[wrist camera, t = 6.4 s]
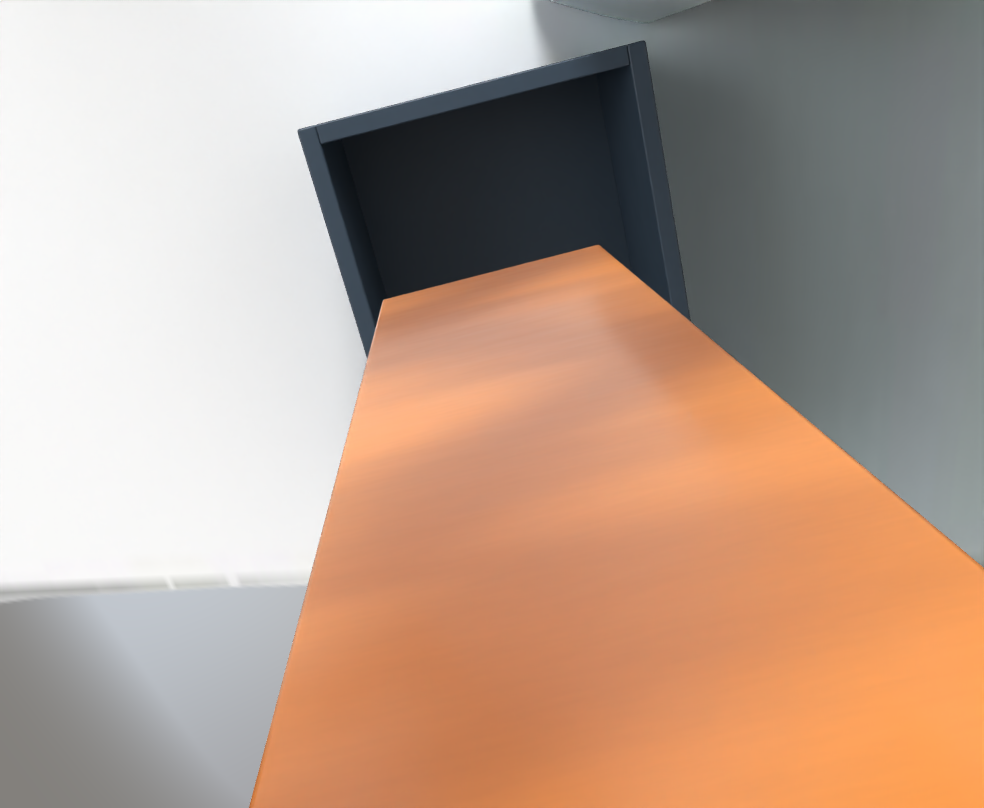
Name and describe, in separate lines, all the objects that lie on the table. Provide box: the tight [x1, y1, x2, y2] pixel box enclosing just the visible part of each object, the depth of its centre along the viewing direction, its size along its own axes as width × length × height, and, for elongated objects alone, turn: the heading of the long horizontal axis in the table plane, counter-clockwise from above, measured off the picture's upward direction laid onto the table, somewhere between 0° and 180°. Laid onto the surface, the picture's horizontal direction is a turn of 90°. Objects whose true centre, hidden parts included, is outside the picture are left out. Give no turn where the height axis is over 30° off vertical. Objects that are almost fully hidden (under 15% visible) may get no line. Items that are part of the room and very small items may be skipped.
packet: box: [249, 245, 984, 808], centre depth 11 cm, size 4×9×15 cm, turn 14°
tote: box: [298, 41, 691, 359], centre depth 32 cm, size 11×16×6 cm
